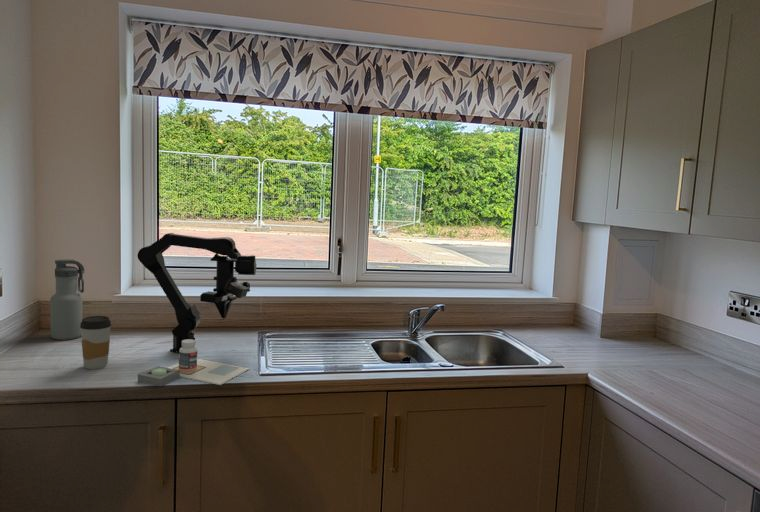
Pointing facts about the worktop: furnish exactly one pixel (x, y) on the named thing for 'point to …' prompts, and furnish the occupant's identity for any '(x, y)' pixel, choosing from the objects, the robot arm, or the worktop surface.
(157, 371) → the button
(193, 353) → the pill bottle
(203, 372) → the picture board
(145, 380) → the button housing
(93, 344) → the coffee cup
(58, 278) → the water bottle
